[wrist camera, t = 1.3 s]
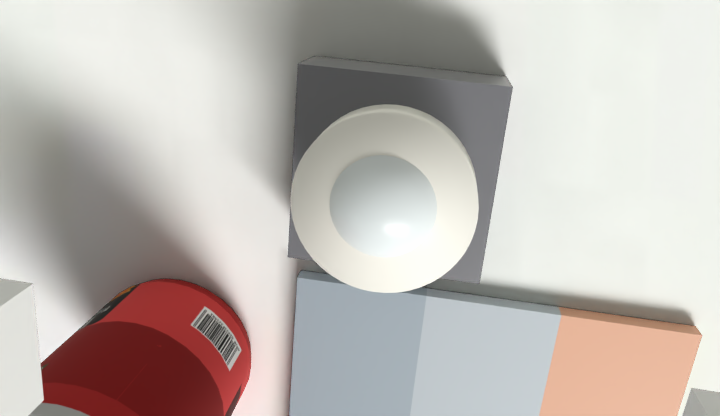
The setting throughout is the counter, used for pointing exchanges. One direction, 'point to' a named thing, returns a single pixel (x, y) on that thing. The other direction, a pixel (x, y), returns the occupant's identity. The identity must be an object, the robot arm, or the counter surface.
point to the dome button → (385, 199)
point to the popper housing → (419, 91)
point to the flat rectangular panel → (477, 356)
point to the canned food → (151, 357)
